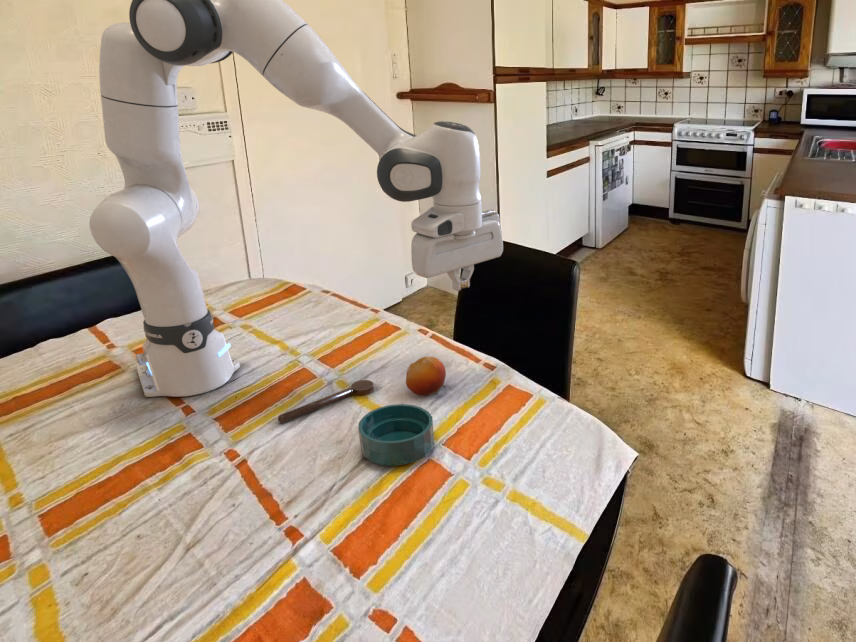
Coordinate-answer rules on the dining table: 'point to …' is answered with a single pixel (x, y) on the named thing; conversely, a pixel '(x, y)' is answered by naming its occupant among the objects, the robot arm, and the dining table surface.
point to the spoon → (329, 400)
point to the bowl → (396, 434)
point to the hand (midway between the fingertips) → (461, 288)
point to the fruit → (426, 376)
